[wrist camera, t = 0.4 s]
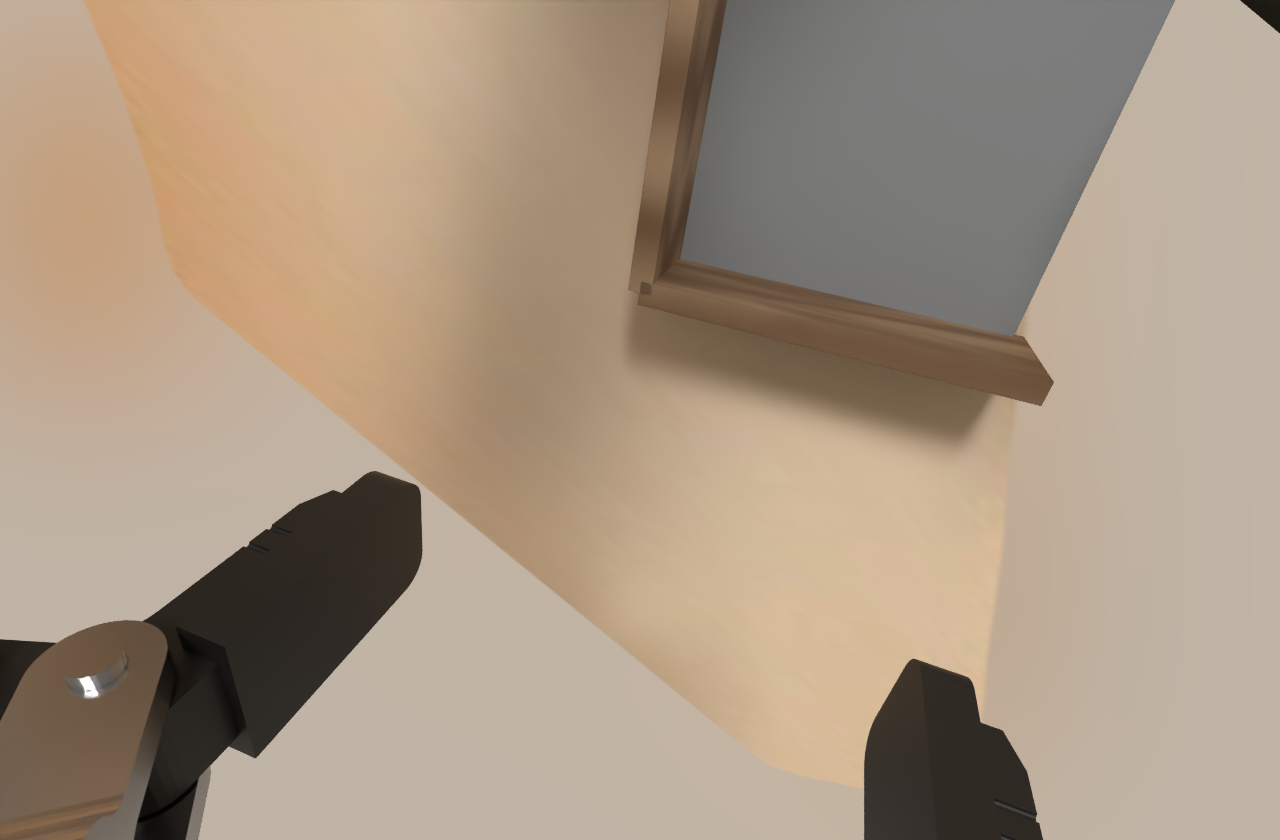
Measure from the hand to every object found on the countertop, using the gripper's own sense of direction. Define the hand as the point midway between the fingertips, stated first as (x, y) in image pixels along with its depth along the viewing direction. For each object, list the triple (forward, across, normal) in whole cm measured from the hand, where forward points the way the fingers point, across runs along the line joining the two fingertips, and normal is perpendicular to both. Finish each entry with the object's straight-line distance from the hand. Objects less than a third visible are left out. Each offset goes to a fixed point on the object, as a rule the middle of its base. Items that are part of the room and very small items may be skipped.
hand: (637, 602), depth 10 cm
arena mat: (+28, -3, -6) cm, 29 cm away
